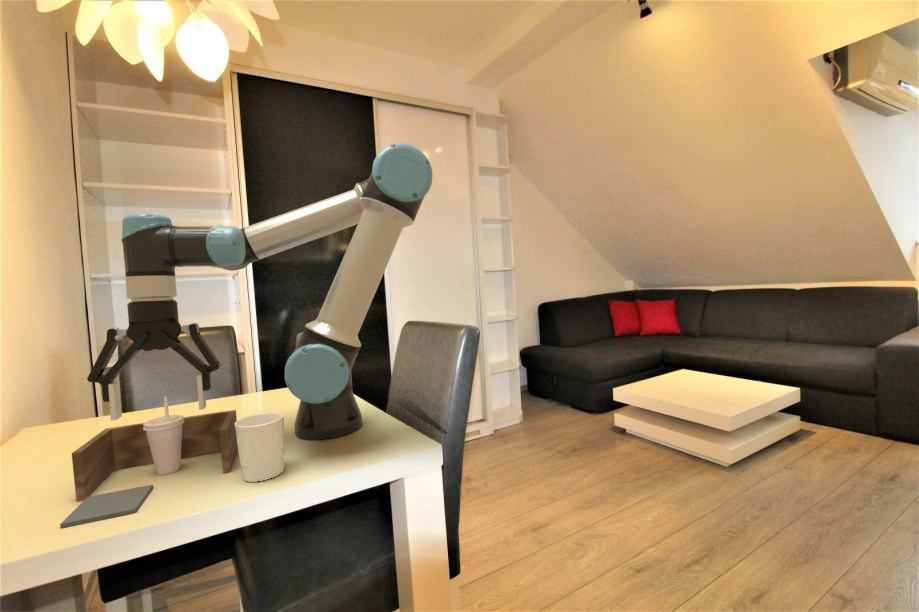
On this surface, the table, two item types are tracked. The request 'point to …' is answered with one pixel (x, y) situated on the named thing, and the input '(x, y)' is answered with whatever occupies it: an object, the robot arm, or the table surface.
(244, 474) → the white cup
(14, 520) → the table surface
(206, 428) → the wooden enclosure
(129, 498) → the mat
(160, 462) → the smoothie
